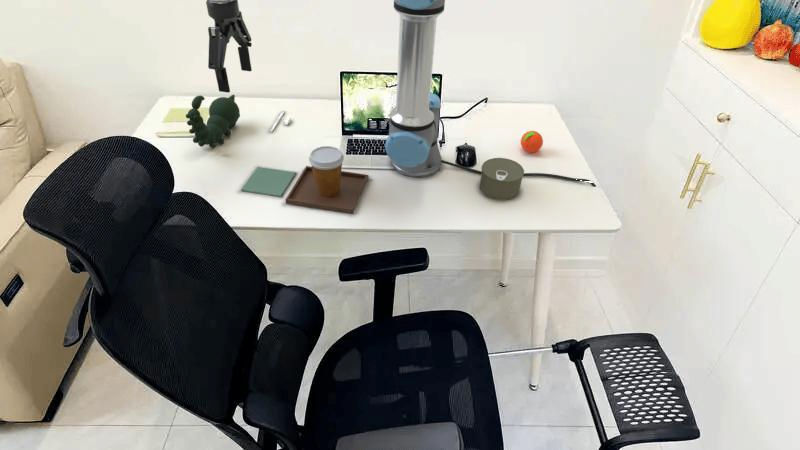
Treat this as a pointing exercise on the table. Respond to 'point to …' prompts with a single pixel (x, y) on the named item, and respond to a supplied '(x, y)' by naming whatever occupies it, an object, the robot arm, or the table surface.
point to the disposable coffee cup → (327, 169)
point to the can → (501, 178)
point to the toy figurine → (213, 120)
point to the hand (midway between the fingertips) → (236, 80)
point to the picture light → (279, 119)
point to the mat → (268, 181)
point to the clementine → (531, 141)
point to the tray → (341, 202)
